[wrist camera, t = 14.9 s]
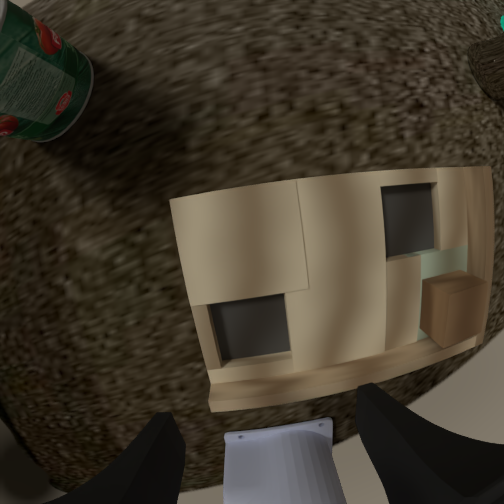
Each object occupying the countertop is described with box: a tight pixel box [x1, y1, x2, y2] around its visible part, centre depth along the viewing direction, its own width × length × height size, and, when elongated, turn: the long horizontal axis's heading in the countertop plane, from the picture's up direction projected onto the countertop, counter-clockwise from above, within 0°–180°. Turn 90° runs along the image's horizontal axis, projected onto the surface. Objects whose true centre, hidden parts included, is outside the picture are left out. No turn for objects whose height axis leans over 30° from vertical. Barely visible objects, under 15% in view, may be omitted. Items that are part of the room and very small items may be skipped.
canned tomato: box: [0, 0, 94, 142], centre depth 11 cm, size 8×8×11 cm
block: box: [419, 270, 488, 348], centre depth 17 cm, size 4×4×4 cm
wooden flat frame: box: [170, 166, 494, 412], centre depth 18 cm, size 22×14×3 cm, turn 99°
